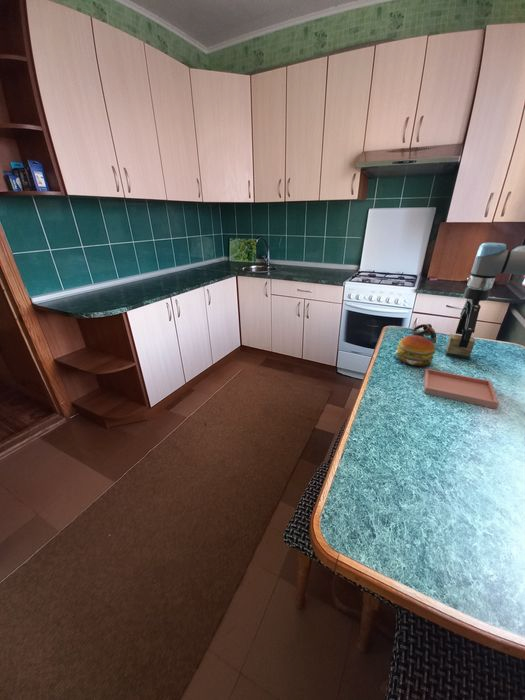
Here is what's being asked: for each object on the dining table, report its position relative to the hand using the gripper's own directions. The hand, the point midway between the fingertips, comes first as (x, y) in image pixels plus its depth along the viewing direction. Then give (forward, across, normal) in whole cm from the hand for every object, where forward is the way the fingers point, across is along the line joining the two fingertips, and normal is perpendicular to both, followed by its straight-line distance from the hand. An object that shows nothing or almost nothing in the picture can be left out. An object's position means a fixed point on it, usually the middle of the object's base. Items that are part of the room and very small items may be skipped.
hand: (460, 340), depth 116 cm
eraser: (+7, 0, 0) cm, 7 cm away
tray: (+7, +28, -2) cm, 29 cm away
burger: (+7, +12, -16) cm, 21 cm away
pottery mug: (+7, -12, -12) cm, 18 cm away
